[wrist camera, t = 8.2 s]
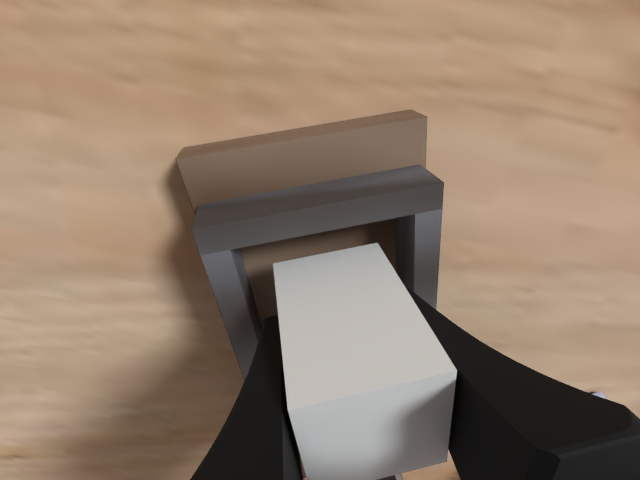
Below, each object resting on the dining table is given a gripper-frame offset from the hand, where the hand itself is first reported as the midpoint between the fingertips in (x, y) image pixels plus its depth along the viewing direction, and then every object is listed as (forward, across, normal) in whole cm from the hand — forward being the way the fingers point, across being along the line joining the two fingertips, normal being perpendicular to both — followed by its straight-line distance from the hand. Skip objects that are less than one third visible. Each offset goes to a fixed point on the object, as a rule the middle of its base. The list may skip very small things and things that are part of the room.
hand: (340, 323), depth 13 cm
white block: (+2, 0, 0) cm, 2 cm away
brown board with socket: (+5, 0, +5) cm, 7 cm away
